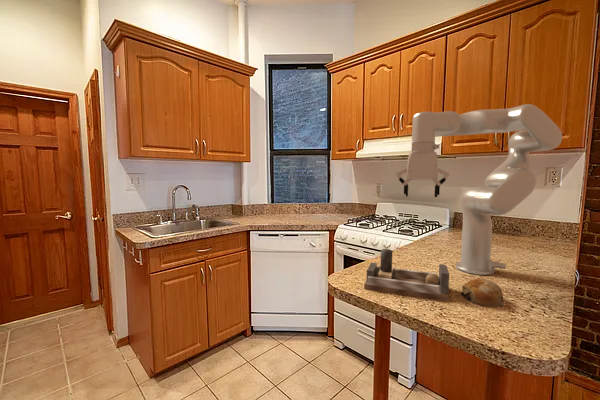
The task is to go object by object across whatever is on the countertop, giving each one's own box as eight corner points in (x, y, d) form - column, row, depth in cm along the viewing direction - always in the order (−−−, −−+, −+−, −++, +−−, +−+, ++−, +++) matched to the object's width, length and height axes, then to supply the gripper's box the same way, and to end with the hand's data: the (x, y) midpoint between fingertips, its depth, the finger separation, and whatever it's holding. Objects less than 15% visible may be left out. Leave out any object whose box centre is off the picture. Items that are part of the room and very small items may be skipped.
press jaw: (395, 275, 97) (395, 247, 96) (393, 285, 88) (394, 255, 87) (381, 274, 98) (381, 246, 97) (377, 283, 90) (378, 253, 89)
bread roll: (495, 322, 77) (512, 299, 74) (457, 298, 81) (472, 276, 79) (493, 307, 85) (509, 286, 83) (459, 287, 90) (472, 266, 87)
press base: (444, 285, 92) (445, 263, 92) (448, 301, 81) (449, 276, 81) (369, 275, 102) (370, 255, 101) (364, 288, 90) (364, 265, 90)
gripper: (449, 148, 101) (446, 196, 102) (397, 150, 107) (396, 195, 109) (451, 146, 94) (449, 198, 95) (396, 148, 100) (395, 196, 102)
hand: (421, 196), depth 102 cm, fingers open, 9 cm apart
